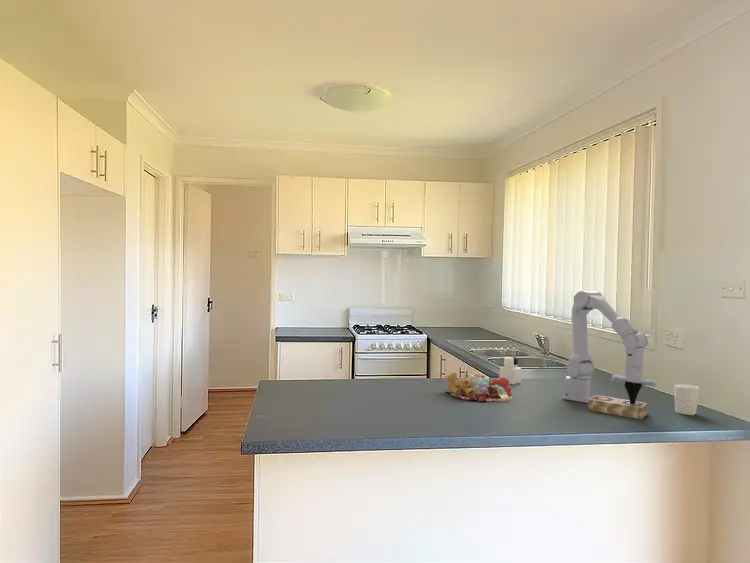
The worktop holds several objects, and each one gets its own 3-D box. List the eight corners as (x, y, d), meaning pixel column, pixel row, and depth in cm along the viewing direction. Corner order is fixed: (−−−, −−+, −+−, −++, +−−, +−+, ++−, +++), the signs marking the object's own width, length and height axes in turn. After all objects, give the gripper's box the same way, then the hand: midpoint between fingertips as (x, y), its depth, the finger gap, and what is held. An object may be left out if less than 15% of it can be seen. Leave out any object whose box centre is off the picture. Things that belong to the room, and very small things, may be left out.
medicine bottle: (507, 380, 243) (508, 355, 243) (521, 383, 238) (522, 357, 238) (498, 382, 238) (500, 356, 238) (512, 385, 233) (513, 358, 233)
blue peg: (624, 414, 187) (624, 403, 187) (626, 411, 191) (627, 401, 191) (637, 416, 185) (638, 405, 185) (639, 413, 188) (640, 403, 188)
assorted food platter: (468, 404, 194) (469, 380, 194) (435, 391, 216) (436, 369, 216) (521, 400, 205) (522, 377, 205) (485, 388, 226) (485, 367, 226)
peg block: (588, 409, 192) (588, 399, 192) (594, 405, 200) (595, 394, 200) (641, 419, 182) (642, 407, 181) (646, 413, 190) (647, 402, 190)
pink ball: (595, 408, 193) (595, 398, 193) (598, 406, 197) (598, 396, 197) (607, 411, 191) (608, 400, 191) (610, 408, 194) (610, 398, 194)
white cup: (701, 416, 189) (702, 389, 189) (678, 414, 190) (679, 387, 190) (692, 411, 197) (693, 384, 197) (669, 409, 198) (671, 383, 198)
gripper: (610, 364, 189) (608, 401, 189) (655, 370, 180) (653, 409, 180) (614, 362, 195) (612, 398, 195) (658, 367, 186) (656, 405, 186)
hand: (632, 403), depth 188 cm, fingers closed
